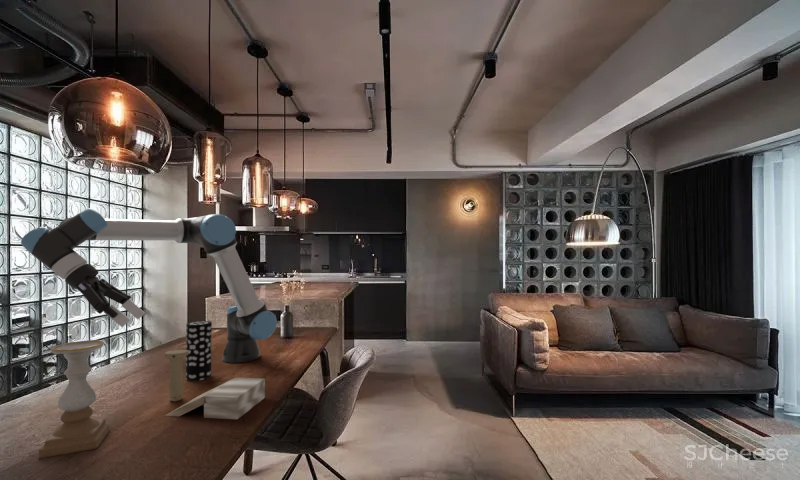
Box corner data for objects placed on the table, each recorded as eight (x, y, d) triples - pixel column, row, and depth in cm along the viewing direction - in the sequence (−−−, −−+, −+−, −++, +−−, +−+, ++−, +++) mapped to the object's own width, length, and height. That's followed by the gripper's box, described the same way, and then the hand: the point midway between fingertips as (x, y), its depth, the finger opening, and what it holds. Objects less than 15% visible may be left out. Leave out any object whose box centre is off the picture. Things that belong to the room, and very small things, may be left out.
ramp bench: (200, 400, 126) (201, 376, 126) (264, 403, 123) (264, 378, 123) (164, 421, 110) (165, 394, 110) (237, 425, 107) (237, 397, 107)
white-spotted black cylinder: (189, 382, 137) (189, 326, 138) (183, 377, 144) (184, 323, 144) (214, 377, 143) (214, 323, 144) (207, 372, 149) (208, 320, 150)
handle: (184, 401, 120) (185, 353, 120) (161, 403, 119) (162, 354, 119) (189, 396, 125) (190, 349, 125) (167, 397, 123) (168, 350, 124)
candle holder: (37, 458, 87) (39, 352, 88) (57, 437, 97) (59, 342, 98) (97, 448, 92) (98, 347, 92) (110, 429, 102) (111, 337, 102)
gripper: (85, 278, 126) (137, 321, 130) (41, 283, 102) (107, 337, 106) (104, 261, 127) (156, 305, 131) (66, 263, 104) (130, 316, 108)
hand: (134, 319), depth 119 cm, fingers open, 13 cm apart
